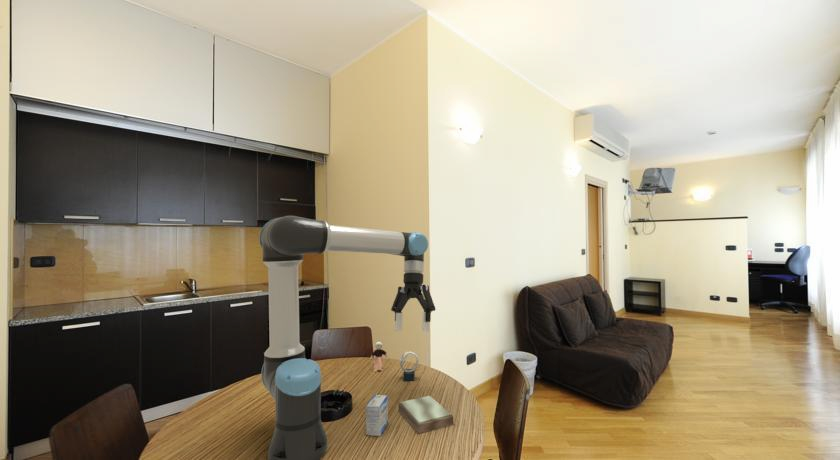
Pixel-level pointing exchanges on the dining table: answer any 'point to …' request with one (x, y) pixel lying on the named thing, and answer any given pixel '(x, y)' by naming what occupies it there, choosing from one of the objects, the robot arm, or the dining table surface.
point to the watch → (408, 373)
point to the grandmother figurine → (378, 357)
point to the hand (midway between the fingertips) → (411, 331)
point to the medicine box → (377, 415)
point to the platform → (425, 414)
